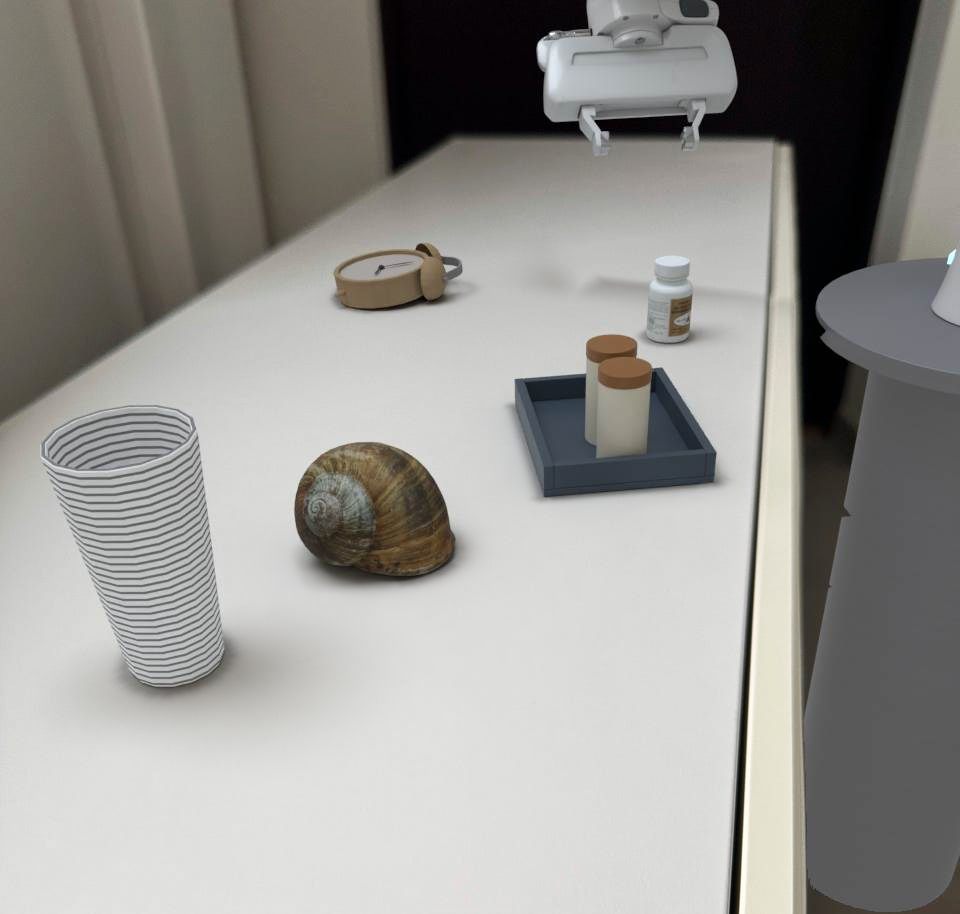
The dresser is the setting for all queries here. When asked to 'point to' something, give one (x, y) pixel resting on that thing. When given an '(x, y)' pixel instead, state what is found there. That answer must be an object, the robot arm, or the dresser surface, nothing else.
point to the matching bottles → (616, 396)
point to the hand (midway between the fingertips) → (646, 150)
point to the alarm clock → (394, 276)
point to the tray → (572, 460)
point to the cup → (143, 534)
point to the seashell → (373, 511)
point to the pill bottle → (670, 300)
